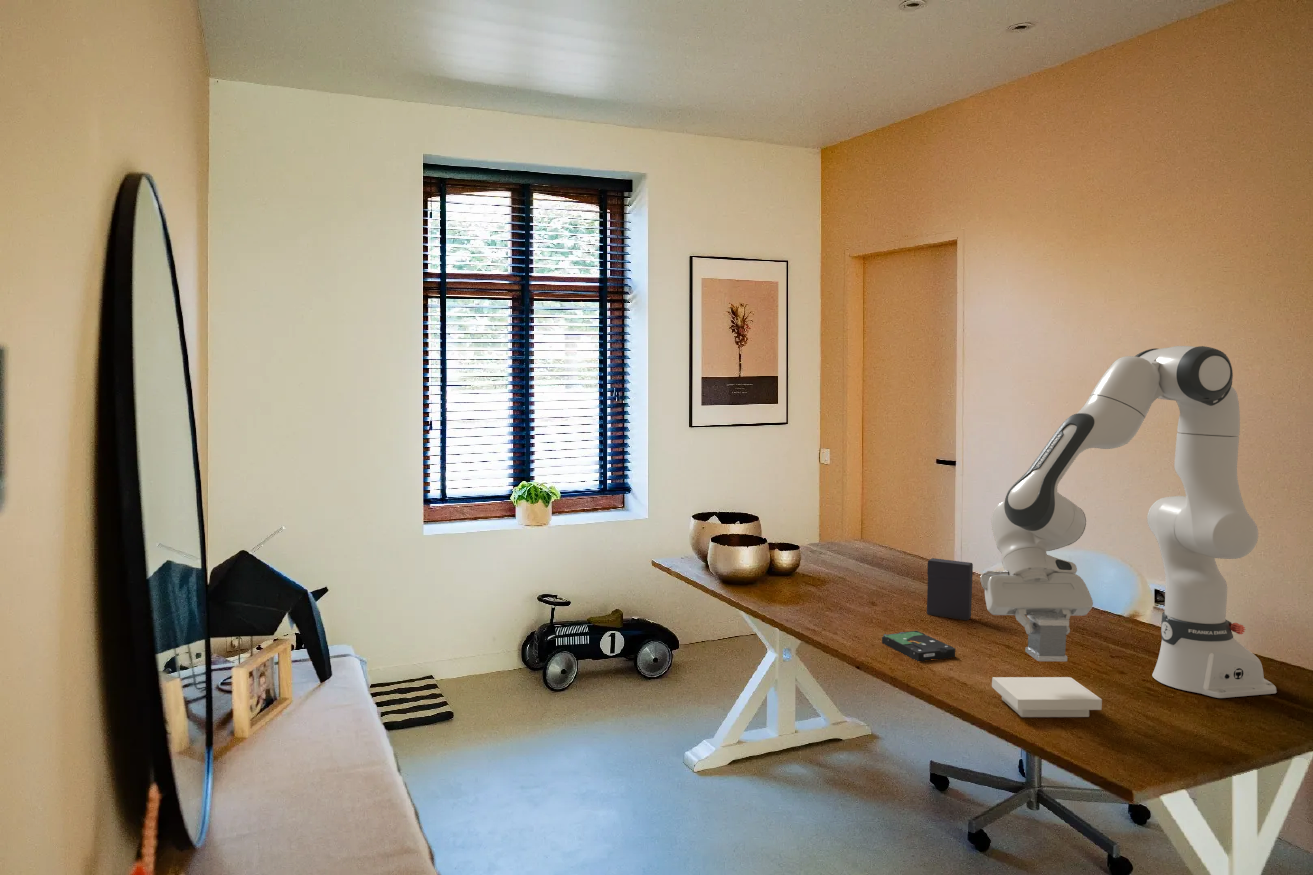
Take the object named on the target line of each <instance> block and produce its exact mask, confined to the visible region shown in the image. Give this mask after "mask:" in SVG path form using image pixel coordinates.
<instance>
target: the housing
mask: <svg viewBox="0 0 1313 875" xmlns="http://www.w3.org/2000/svg"><path fill="white" fill-rule="evenodd" d="M1026 617H1027V618H1028V620H1029V621H1030V622H1034V623H1035V624H1036V626H1035V627H1036V628H1037V632H1036V633H1035V634H1027V636H1028V637H1027V646H1025V653H1026V654H1028V655H1029V656H1031V657H1032V658H1033V659H1034V660H1036V661H1038V662H1068V655H1066V649H1067V647H1066V646H1067V634H1066V630H1067V626H1069V627H1070V619H1069V620H1068V619H1066V618H1064V617H1062V616H1061V615H1059V614H1057V613H1056V612H1027V615H1026Z"/></svg>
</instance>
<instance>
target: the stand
mask: <svg viewBox="0 0 1313 875" xmlns="http://www.w3.org/2000/svg"><path fill="white" fill-rule="evenodd" d="M991 688H992V689H994V690H995V692H997V693H998V694H999V695H1000V696H1001V700H1002V701H1003V702H1004V703H1005V704H1007V705H1008V706H1009V707H1010V709H1012V710H1013V711H1014V712H1015V713H1017V715H1019V716H1020V717H1021V718H1089V717H1090V711H1102V709H1103V708H1102V707H1103V706H1102V705H1103V704H1102V703H1103V699H1102V698H1101V697H1099V696H1098V695H1096V694H1095V693H1093V692H1092V691H1091V690H1089V689H1088V688H1087V687H1085V686H1083V685H1082V684H1081V683H1079V682H1078V681H1076V680H1075V679H1074V678H1072V677H1071V676H1061V677H1060V676H1054V677H1051V676H1047V677H1046V676H1042V677H1041V676H1036V677H1035V676H1034V677H1033V676H1025V677H1024V676H1022V677H1021V676H1019V677H1018V676H1013V677H1011V676H1009V677H1008V676H1006V677H1003V676H998V677H997V676H996V677H994V676H993V677H992V679H991Z"/></svg>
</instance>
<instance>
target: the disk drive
mask: <svg viewBox="0 0 1313 875" xmlns="http://www.w3.org/2000/svg"><path fill="white" fill-rule="evenodd" d="M881 643H882V644H883V645H885V646H886V647H889V648H891V649H893V650H895V651H897V652H898V651H899V653H900V652H901V653H900V654H902V653H903V655H904V656H906V655H907V656H906V657H908V656H909V657H908V658H910V659H912V660H914V659H915V660H914V661H916V660H917V661H916V662H918V661H922V662H926V661H925V660H930V661H932V660H931V659H938V660H944V658H947V659H952V658H951V657H955V658H956V648H955V647H953V646H951V645H949V644H947V643H945V642H943V641H940V640H939V639H936V638H934V637H931V636H929V635H927V634H925V633H923V632H921V631H918V630H912V631H910V630H909V631H901V632H896V633H891V634H886V633H884V634H883V636H881Z"/></svg>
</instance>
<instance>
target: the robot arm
mask: <svg viewBox="0 0 1313 875" xmlns="http://www.w3.org/2000/svg"><path fill="white" fill-rule="evenodd" d="M1233 371H1234V370H1233V367H1232V363H1231V361H1230V358H1229V357H1228V356H1227V354H1226V353H1225V352H1223V351H1221V350H1220V349H1217V348H1214V347H1209V346H1205V345H1204V346H1203V345H1199V346H1192V345H1174V346H1170V347H1169V346H1168V347H1163V348H1162V347H1161V348H1149V349H1146V350H1144V351H1141V352H1139V353H1138V354H1136V355H1125V356H1122V357H1119V358H1117V359H1116V360H1115V361H1114V362H1112V364H1111V365H1110V366H1109V367H1108V368H1107V370H1106V371H1105V372H1104V374H1103V375H1102V376H1100V378H1099V380H1098V381H1097V383H1096V385H1095V387H1094V388H1093V390H1092V391H1091V393H1090V395H1089V397H1088V398H1087V400H1086V402H1085V404H1084V405H1083V406H1082V407H1081V409H1079V411H1077V413H1073V414H1072V415H1070V416H1069V417H1067V418H1066V419H1065V420H1064V421H1063V422H1062V423H1061V424H1060V426H1059V427H1058V428H1057V429H1056V431H1055V432H1054V434H1053V435H1052V437H1050V439H1049V440H1048V441H1047V442H1046V444H1045V446H1044V447H1043V448H1042V450H1041V451H1040V453H1039V454H1038V456H1036V458H1035V460H1034V461H1033V463H1032V464H1031V466H1029V467H1028V470H1027V471H1025V472H1024V473H1023V475H1022V476H1021V477H1020V478H1019V479H1018V480H1017V481H1016V482H1014V484H1013V485H1011V487H1010V488H1009V489H1008V491H1007V493H1006V494H1005V498H1004V500H1003V501H1001V502H1000V503H999V504H997V505H996V506H995V507H994V509H993V510H992V513H991V518H990V520H991V521H990V522H991V530H992V532H993V537H994V541H995V545H996V548H997V549H998V551H999V553H1000V554H1001V563H1002V568H1003V570H996V571H993V570H987V571H985V572H984V573H982V574H981V575H980V577H979V580H980V583H981V587H982V588H983V590H984V601H985V605H986V609H987V611H988V612H989V613H990V614H991V615H993V616H1014V617H1015V620H1016V621H1017V622H1018V623H1019V624H1020V625H1021V626H1022V627H1024V630H1025V633H1026V635H1028V634H1035V633H1036V632H1037V628H1036V627H1035V626H1036V624H1035V623H1034V622H1030V621H1029V618H1028V617H1027V612H1056V613H1057V614H1059V615H1061V616H1062V617H1064V618H1066V619H1068V620H1069V621H1070V618H1071V616H1087V615H1088V613H1089V612H1090V611H1091V610H1092V608H1093V606H1094V600H1093V598H1092V595H1091V593H1090V591H1089V589H1088V586H1087V584H1086V583H1085V581H1084V579H1083V578H1082V577H1081V576H1080V575H1078V574H1076V573H1077V572H1078V567H1077V565H1076V563H1074V562H1073V561H1068V560H1065V559H1061V558H1058V557H1055V556H1053V555H1050V554H1047V552H1050V551H1055V550H1059V549H1061V548H1065V547H1068V546H1071V545H1073V544H1074V543H1076V542H1077V541H1078V540H1079V539H1080V538H1081V537H1082V536H1083V534H1084V533H1085V530H1086V527H1087V526H1086V525H1087V517H1086V514H1085V512H1084V510H1083V509H1082V508H1080V507H1079V506H1078V505H1077V504H1075V502H1073V501H1072V500H1070V499H1068V498H1067V497H1066V496H1064V495H1062V494H1061V493H1059V492H1058V487H1059V486H1058V485H1059V483H1060V482H1061V480H1062V479H1063V478H1064V476H1065V475H1066V473H1067V471H1068V470H1069V469H1070V468H1071V466H1072V465H1073V463H1074V462H1075V460H1076V459H1077V458H1078V456H1079V455H1080V454H1081V453H1083V452H1085V451H1087V450H1089V449H1101V450H1112V449H1116V448H1120V447H1122V446H1125V445H1127V444H1129V443H1130V442H1131V440H1133V438H1134V437H1135V436H1136V435H1137V433H1138V432H1139V430H1140V429H1141V427H1142V425H1143V423H1144V421H1145V419H1146V416H1147V414H1148V413H1149V411H1150V409H1151V407H1152V405H1153V403H1154V402H1155V401H1156V400H1157V399H1160V400H1165V401H1175V402H1176V403H1177V406H1178V409H1179V410H1178V411H1179V416H1178V422H1177V430H1176V432H1177V433H1176V438H1175V449H1174V450H1175V451H1174V452H1175V454H1174V463H1173V465H1174V471H1175V473H1176V476H1178V477H1179V479H1180V481H1181V483H1182V486H1183V489H1184V493H1185V495H1175V496H1165V497H1161V498H1159V499H1157V500H1156V501H1155V502H1153V504H1151V506H1150V507H1149V509H1148V513H1147V514H1146V515H1147V517H1146V522H1147V526H1148V528H1149V530H1150V531H1151V533H1152V534H1153V536H1154V538H1155V539H1156V542H1157V545H1158V548H1159V552H1160V556H1161V559H1162V564H1163V569H1164V577H1165V580H1164V581H1165V586H1164V587H1165V590H1164V591H1165V592H1164V594H1165V595H1164V611H1162V614H1161V624H1160V635H1161V643H1160V644H1161V645H1160V648H1159V649H1160V650H1159V653H1158V657H1157V661H1156V664H1155V667H1154V670H1153V672H1152V678H1154V679H1155V680H1156V681H1157V682H1159V683H1161V684H1163V685H1166V686H1168V687H1171V688H1173V689H1174V688H1175V689H1178V690H1182V691H1187V692H1192V693H1197V694H1202V695H1204V696H1209V697H1212V698H1217V699H1226V698H1235V697H1236V698H1237V697H1238V698H1239V697H1247V696H1249V697H1250V696H1259V695H1261V696H1262V695H1271V694H1276V693H1277V692H1278V691H1277V687H1276V686H1275V685H1276V684H1275V685H1274V684H1273V683H1272V682H1271V681H1269V680H1268V679H1266V678H1264V677H1265V676H1264V669H1263V665H1262V664H1263V663H1262V662H1261V660H1260V659H1259V657H1257V656H1256V654H1254V653H1253V652H1252V651H1250V650H1249V649H1248V648H1246V646H1244V645H1243V644H1242V643H1240V642H1239V641H1238V640H1237V639H1235V637H1234V634H1233V633H1236V634H1237V635H1243V634H1244V633H1245V631H1246V627H1245V626H1244V625H1243V624H1241V623H1238V622H1233V623H1232V622H1231V621H1229V620H1228V619H1227V601H1228V600H1227V599H1228V584H1227V581H1226V578H1225V577H1224V576H1223V574H1222V573H1221V572H1220V569H1219V567H1218V565H1217V562H1216V559H1220V560H1221V559H1222V560H1223V559H1224V560H1237V559H1241V558H1244V557H1245V556H1247V555H1249V554H1251V552H1252V551H1253V550H1254V549H1255V547H1256V545H1257V543H1258V539H1259V529H1258V526H1257V523H1256V522H1255V520H1254V519H1253V518H1252V517H1251V515H1250V514H1249V512H1248V511H1247V509H1246V506H1245V503H1244V501H1243V498H1242V494H1241V489H1240V485H1239V480H1238V478H1239V477H1238V461H1239V460H1238V457H1239V456H1238V455H1239V445H1240V444H1239V443H1240V432H1241V431H1240V429H1241V414H1240V413H1241V411H1240V402H1239V396H1238V392H1237V390H1236V389H1235V388H1234V387H1233V386H1232V385H1233V380H1234V378H1233V377H1234V372H1233ZM1069 633H1071V629H1070V625H1069V626H1067V630H1066V635H1069Z"/></svg>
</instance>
